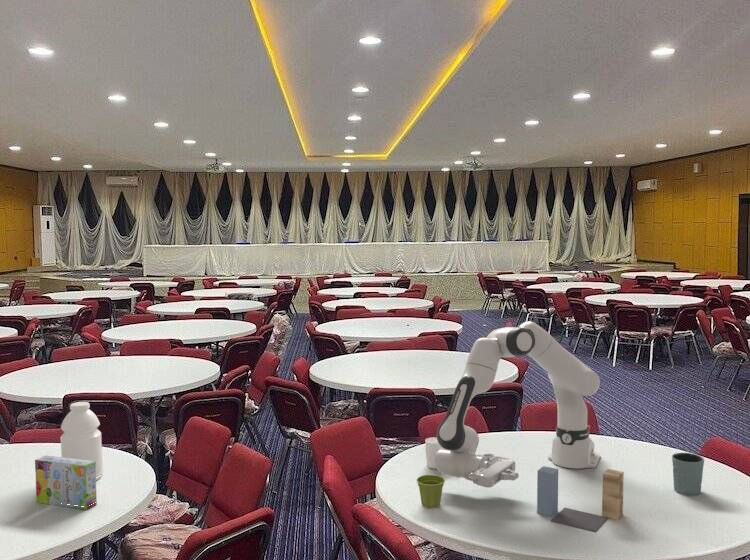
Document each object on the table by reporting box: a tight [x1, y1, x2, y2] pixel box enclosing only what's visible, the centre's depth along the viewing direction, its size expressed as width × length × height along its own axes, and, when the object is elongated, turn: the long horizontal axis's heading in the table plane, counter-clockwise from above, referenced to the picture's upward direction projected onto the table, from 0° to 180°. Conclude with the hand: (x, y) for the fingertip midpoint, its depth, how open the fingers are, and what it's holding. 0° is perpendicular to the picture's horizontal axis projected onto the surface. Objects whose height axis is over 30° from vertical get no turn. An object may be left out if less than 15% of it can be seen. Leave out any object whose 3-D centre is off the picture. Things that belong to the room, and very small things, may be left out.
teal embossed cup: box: [671, 452, 705, 496], centre depth 248 cm, size 10×10×12 cm
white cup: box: [424, 436, 442, 470], centre depth 275 cm, size 8×8×10 cm
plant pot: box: [416, 474, 446, 509], centre depth 237 cm, size 9×9×9 cm
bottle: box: [59, 401, 104, 481], centre depth 264 cm, size 14×14×28 cm
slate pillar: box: [536, 465, 559, 517], centre depth 231 cm, size 5×5×14 cm
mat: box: [550, 507, 609, 533], centre depth 225 cm, size 12×14×1 cm
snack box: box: [34, 454, 98, 510], centre depth 241 cm, size 21×6×15 cm, turn 71°
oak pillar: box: [601, 468, 625, 521], centre depth 228 cm, size 5×5×14 cm
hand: (516, 476), depth 237 cm, fingers closed
